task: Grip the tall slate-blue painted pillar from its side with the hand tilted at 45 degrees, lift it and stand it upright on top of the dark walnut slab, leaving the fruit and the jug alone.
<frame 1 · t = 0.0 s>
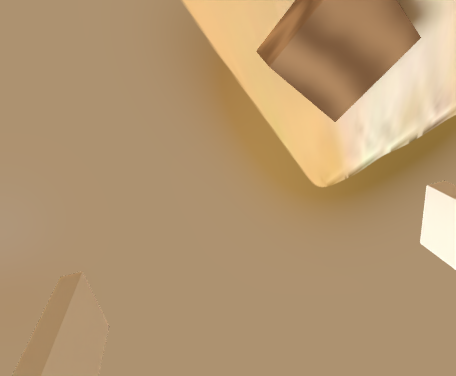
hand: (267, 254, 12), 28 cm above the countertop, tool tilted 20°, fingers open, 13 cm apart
walnut slab: (325, 37, 35), on the countertop
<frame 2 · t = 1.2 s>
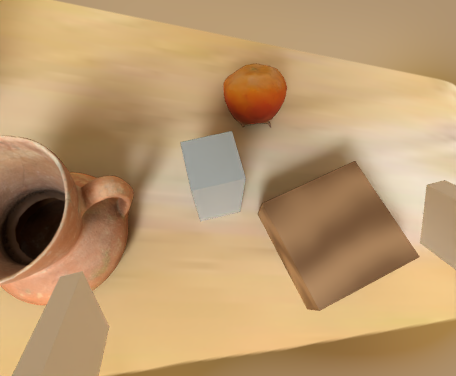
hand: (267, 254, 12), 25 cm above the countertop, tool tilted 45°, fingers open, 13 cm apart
fruit: (252, 109, 43), on the countertop
walnut slab: (324, 238, 37), on the countertop
pillar: (215, 197, 38), on the countertop
ceramic jug: (78, 238, 37), on the countertop
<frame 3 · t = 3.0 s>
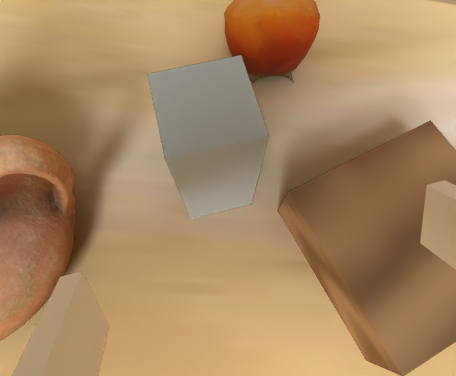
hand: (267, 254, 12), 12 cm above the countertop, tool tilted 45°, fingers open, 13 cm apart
fruit: (266, 59, 30), on the countertop
walnut slab: (381, 243, 24), on the countertop
pillar: (214, 183, 25), on the countertop
ceramic jug: (3, 247, 24), on the countertop
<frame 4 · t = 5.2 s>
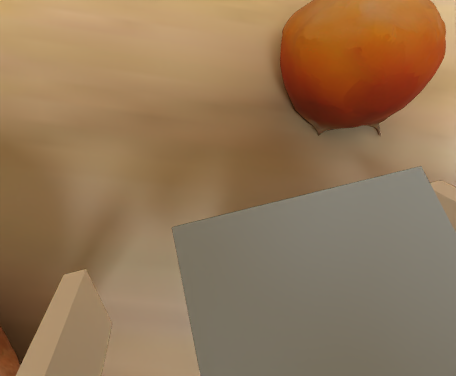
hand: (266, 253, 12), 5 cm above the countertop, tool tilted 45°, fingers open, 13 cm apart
fruit: (333, 96, 20), on the countertop
pillar: (267, 313, 15), on the countertop
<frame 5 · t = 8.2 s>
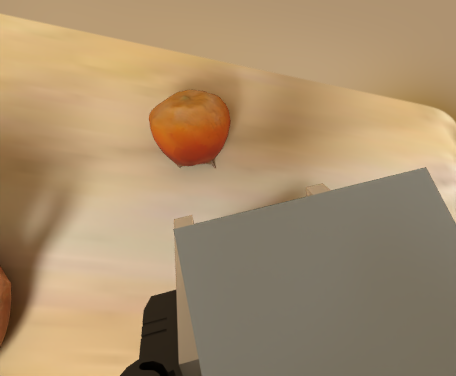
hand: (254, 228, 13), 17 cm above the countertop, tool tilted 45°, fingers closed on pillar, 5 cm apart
fruit: (194, 143, 35), on the countertop
pillar: (268, 314, 15), point 14 cm above the countertop, touching gripper
when the fingers open (9 cm above the countertop, at t = 10.4 s): pillar drops 1 cm, resting on walnut slab.
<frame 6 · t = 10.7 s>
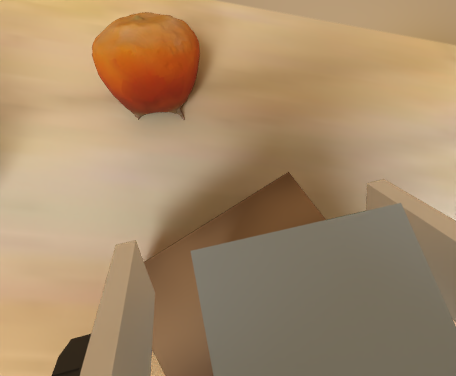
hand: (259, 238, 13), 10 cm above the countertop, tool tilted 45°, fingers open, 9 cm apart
fruit: (159, 92, 27), on the countertop
walnut slab: (257, 310, 21), on the countertop, touching pillar
pillar: (267, 316, 16), point 5 cm above the countertop, touching walnut slab
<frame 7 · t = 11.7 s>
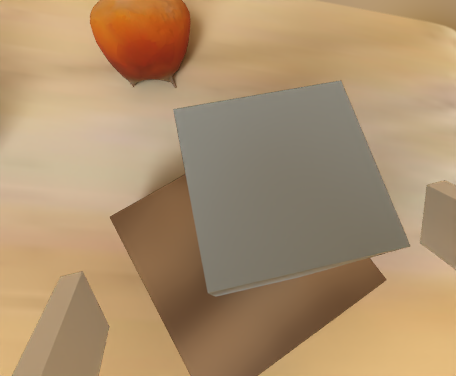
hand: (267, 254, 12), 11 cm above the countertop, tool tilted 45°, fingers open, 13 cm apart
fruit: (153, 62, 29), on the countertop
walnut slab: (240, 258, 23), on the countertop
pillar: (248, 243, 18), point 5 cm above the countertop
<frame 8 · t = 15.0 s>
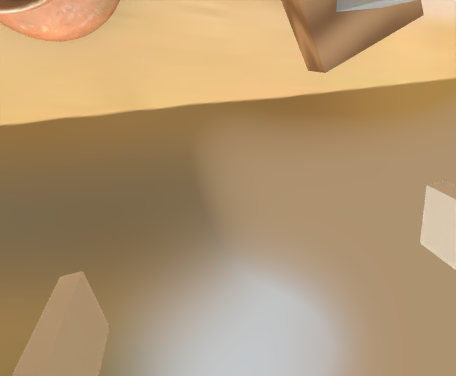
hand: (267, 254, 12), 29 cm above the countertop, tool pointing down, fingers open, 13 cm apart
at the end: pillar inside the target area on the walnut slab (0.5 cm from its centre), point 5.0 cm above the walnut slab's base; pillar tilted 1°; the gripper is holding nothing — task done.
